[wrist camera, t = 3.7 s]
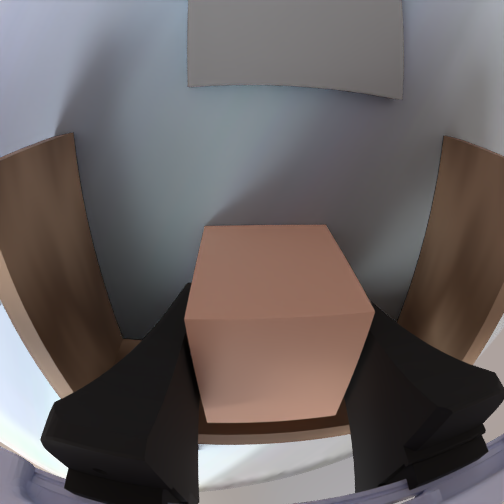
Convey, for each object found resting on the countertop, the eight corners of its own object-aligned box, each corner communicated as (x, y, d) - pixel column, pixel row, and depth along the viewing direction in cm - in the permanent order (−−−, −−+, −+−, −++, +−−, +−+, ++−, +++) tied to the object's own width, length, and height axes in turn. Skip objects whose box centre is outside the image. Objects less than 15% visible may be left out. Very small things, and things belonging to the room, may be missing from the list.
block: (311, 323, 14) (335, 415, 9) (213, 326, 13) (207, 422, 9) (325, 224, 11) (375, 311, 7) (204, 225, 11) (184, 319, 7)
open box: (403, 340, 15) (438, 411, 10) (111, 350, 14) (85, 428, 10) (460, 139, 9) (550, 179, 5) (52, 136, 9) (-41, 177, 4)
